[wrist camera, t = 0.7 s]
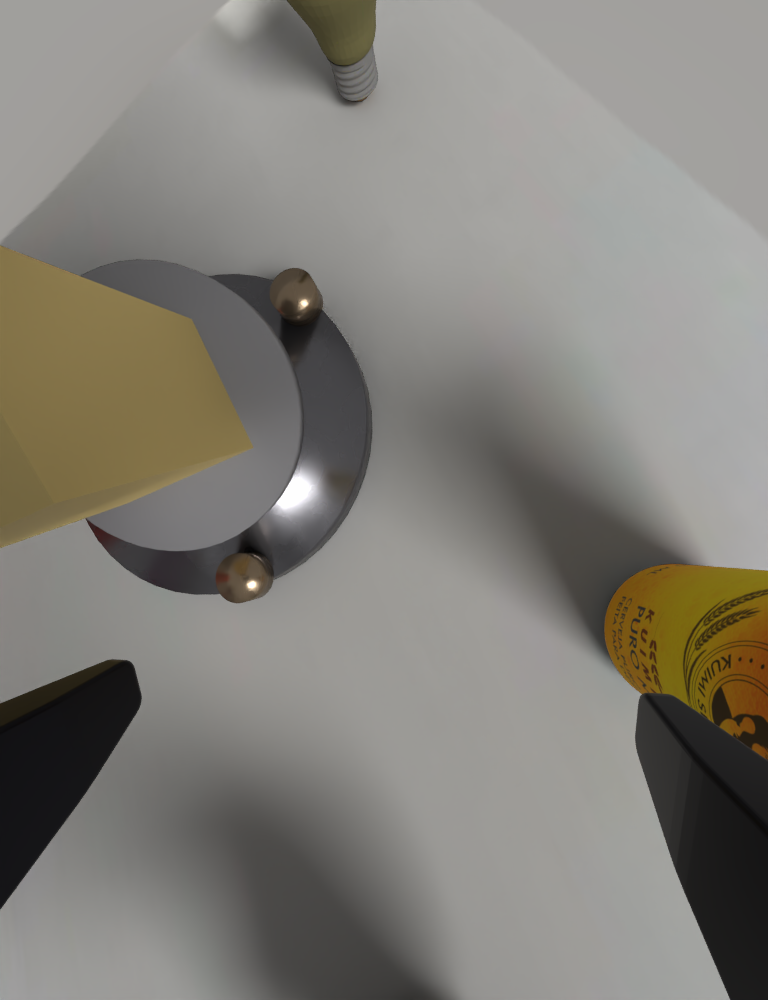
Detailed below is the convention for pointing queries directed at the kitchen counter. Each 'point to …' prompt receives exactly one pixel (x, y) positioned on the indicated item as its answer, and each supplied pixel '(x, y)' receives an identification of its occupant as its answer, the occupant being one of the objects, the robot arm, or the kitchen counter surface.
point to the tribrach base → (321, 467)
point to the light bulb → (345, 41)
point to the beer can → (697, 642)
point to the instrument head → (140, 404)
